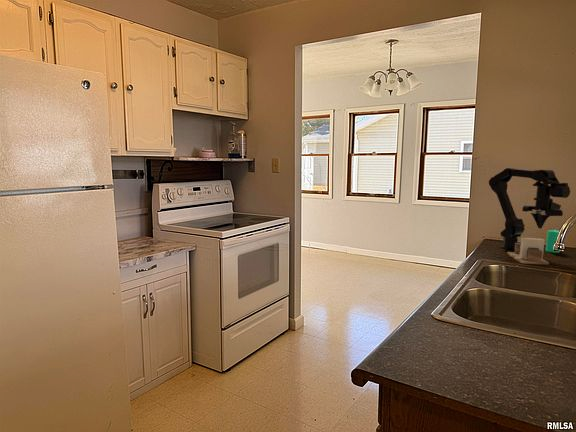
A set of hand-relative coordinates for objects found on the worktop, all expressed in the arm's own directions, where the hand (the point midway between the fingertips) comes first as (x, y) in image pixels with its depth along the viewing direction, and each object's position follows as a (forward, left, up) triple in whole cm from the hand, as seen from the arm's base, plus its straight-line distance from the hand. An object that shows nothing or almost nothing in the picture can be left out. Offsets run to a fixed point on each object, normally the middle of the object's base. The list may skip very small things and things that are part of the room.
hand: (539, 228), depth 189 cm
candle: (-6, +14, -13) cm, 20 cm away
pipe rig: (+8, -12, -13) cm, 19 cm away
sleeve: (+12, -13, -12) cm, 21 cm away
